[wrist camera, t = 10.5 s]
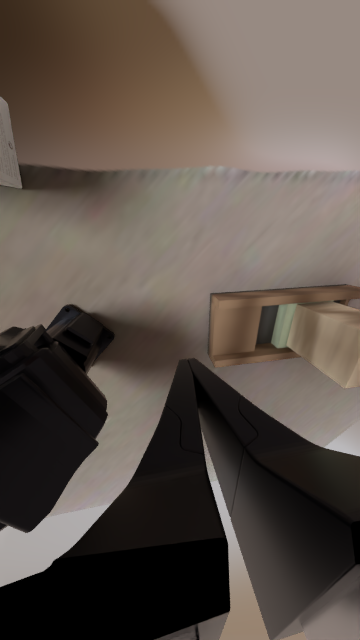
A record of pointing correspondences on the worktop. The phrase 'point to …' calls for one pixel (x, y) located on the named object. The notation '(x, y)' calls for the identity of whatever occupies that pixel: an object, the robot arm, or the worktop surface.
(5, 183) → the small box
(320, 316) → the block
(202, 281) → the worktop surface
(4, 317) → the worktop surface
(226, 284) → the worktop surface
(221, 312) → the track
